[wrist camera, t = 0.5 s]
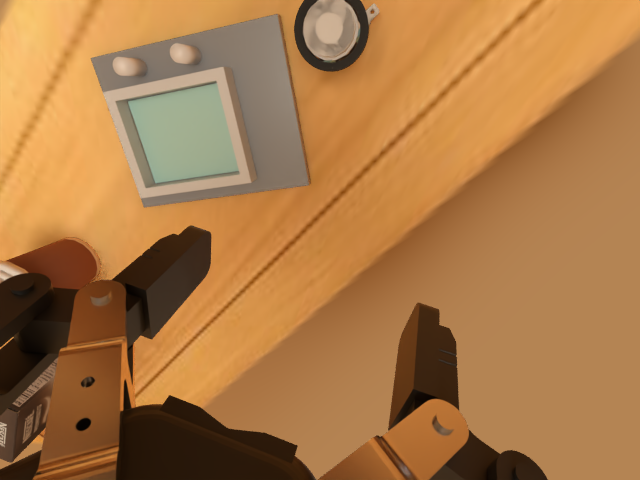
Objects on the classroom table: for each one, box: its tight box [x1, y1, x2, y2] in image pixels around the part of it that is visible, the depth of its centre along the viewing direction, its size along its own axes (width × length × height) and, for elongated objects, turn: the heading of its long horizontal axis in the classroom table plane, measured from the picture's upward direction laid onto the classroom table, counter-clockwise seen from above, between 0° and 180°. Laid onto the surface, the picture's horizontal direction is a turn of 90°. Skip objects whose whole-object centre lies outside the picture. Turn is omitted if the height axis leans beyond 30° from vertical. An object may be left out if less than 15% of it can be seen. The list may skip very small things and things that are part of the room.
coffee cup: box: [0, 237, 101, 289], centre depth 43 cm, size 9×9×12 cm
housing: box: [91, 14, 311, 207], centre depth 37 cm, size 16×20×4 cm
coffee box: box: [0, 358, 58, 462], centre depth 46 cm, size 9×6×16 cm
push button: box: [294, 0, 379, 71], centre depth 30 cm, size 7×5×10 cm
